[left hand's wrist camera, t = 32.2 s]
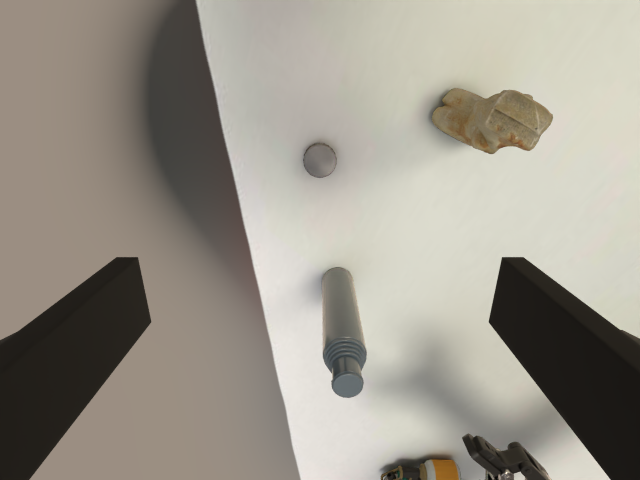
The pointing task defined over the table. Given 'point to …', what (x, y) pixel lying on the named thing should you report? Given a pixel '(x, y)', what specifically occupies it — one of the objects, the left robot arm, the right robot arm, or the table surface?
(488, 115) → the sculpture
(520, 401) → the table surface
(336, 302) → the bottle
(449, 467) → the spray gun
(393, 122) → the table surface
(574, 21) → the table surface
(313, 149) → the cap
